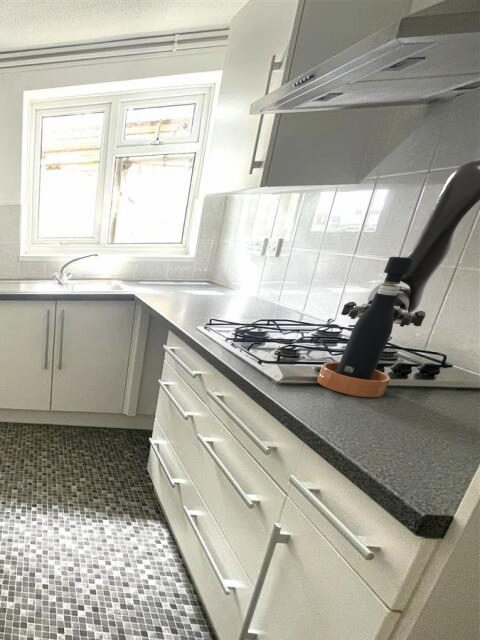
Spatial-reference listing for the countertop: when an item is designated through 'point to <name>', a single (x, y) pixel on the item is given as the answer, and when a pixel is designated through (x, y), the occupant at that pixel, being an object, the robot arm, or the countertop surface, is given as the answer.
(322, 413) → the countertop surface
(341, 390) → the bowl
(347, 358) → the dark water bottle
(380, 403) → the countertop surface
